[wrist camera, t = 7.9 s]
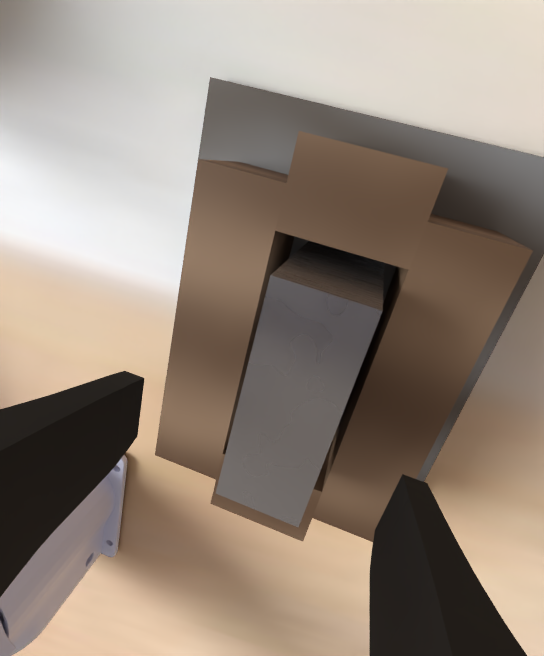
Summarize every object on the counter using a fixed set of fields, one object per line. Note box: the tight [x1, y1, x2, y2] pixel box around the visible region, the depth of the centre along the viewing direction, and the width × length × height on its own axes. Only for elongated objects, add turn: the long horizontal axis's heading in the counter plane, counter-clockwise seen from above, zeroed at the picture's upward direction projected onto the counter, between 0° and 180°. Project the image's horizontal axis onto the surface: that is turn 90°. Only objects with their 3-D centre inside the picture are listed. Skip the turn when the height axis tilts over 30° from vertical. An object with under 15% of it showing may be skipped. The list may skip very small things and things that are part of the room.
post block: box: [155, 77, 544, 542], centre depth 17 cm, size 18×14×5 cm
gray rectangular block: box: [216, 241, 384, 527], centre depth 15 cm, size 8×3×7 cm, turn 166°
